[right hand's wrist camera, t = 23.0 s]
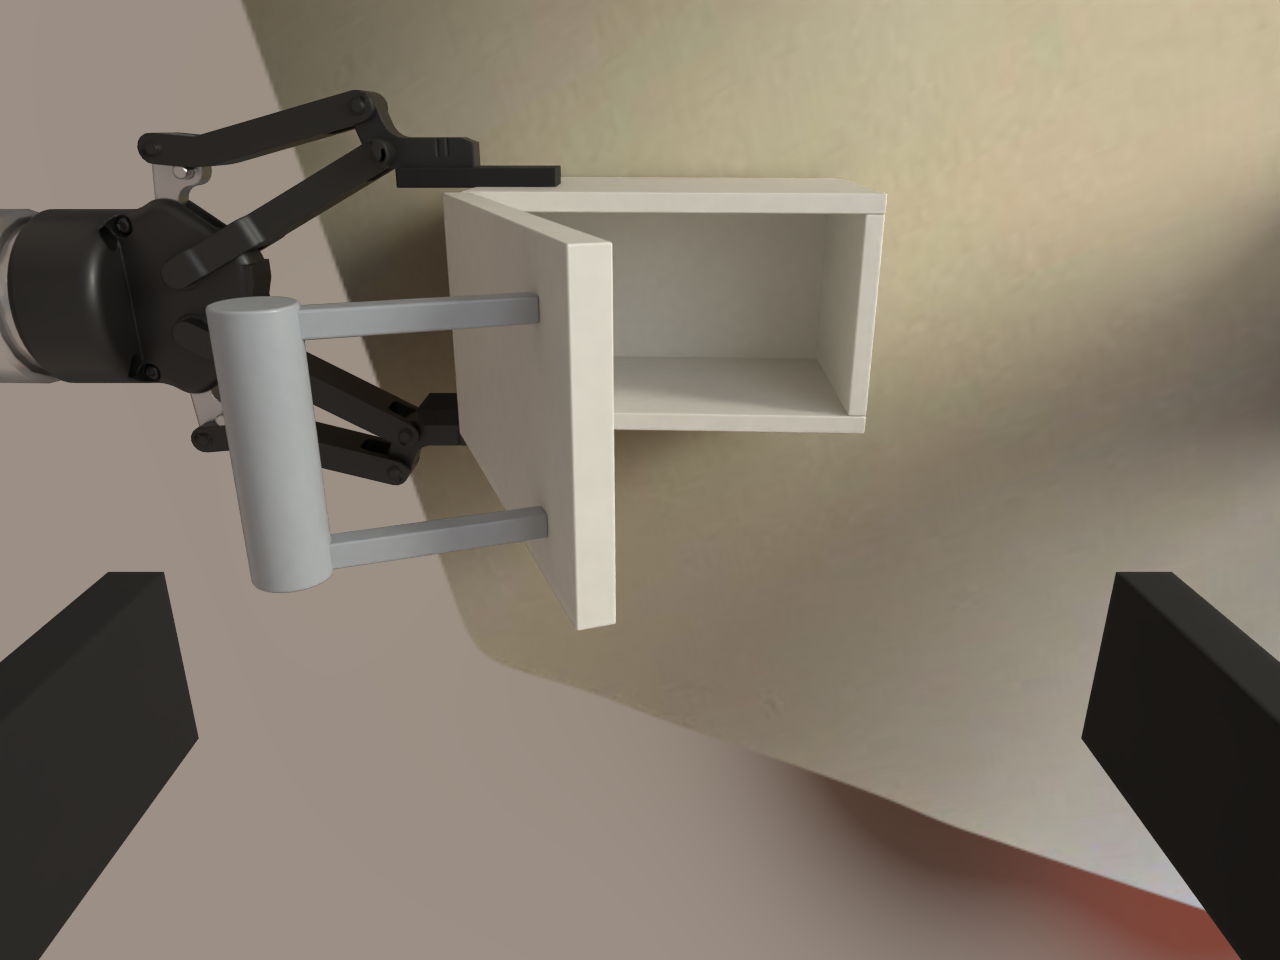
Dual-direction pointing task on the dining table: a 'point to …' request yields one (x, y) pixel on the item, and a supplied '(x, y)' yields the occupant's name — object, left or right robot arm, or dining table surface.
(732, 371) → the chest
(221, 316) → the lid
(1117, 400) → the dining table surface
